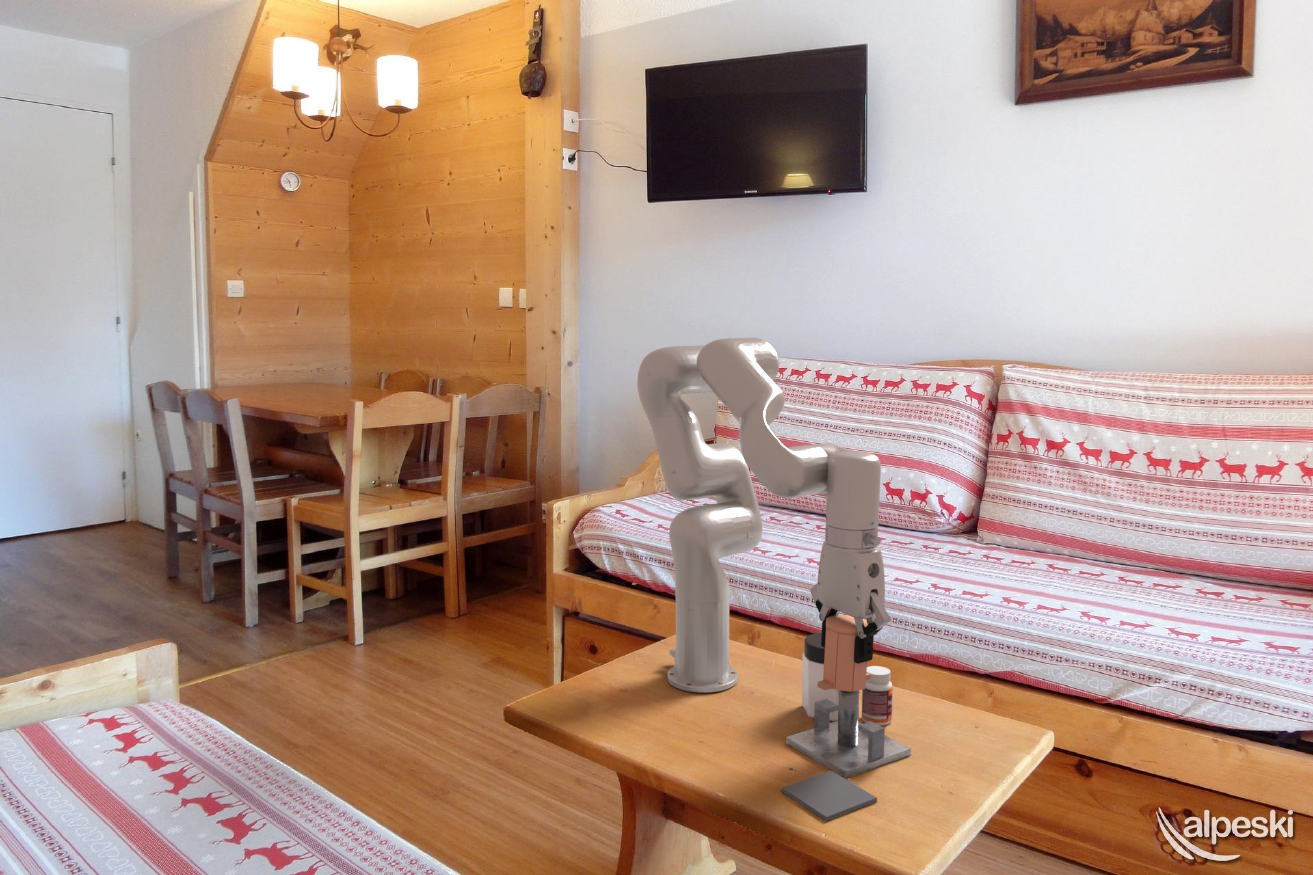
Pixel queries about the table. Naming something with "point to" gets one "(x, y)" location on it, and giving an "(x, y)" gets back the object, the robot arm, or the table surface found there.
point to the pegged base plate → (846, 739)
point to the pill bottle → (877, 696)
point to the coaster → (829, 795)
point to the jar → (815, 677)
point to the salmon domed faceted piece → (842, 656)
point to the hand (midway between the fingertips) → (846, 652)
